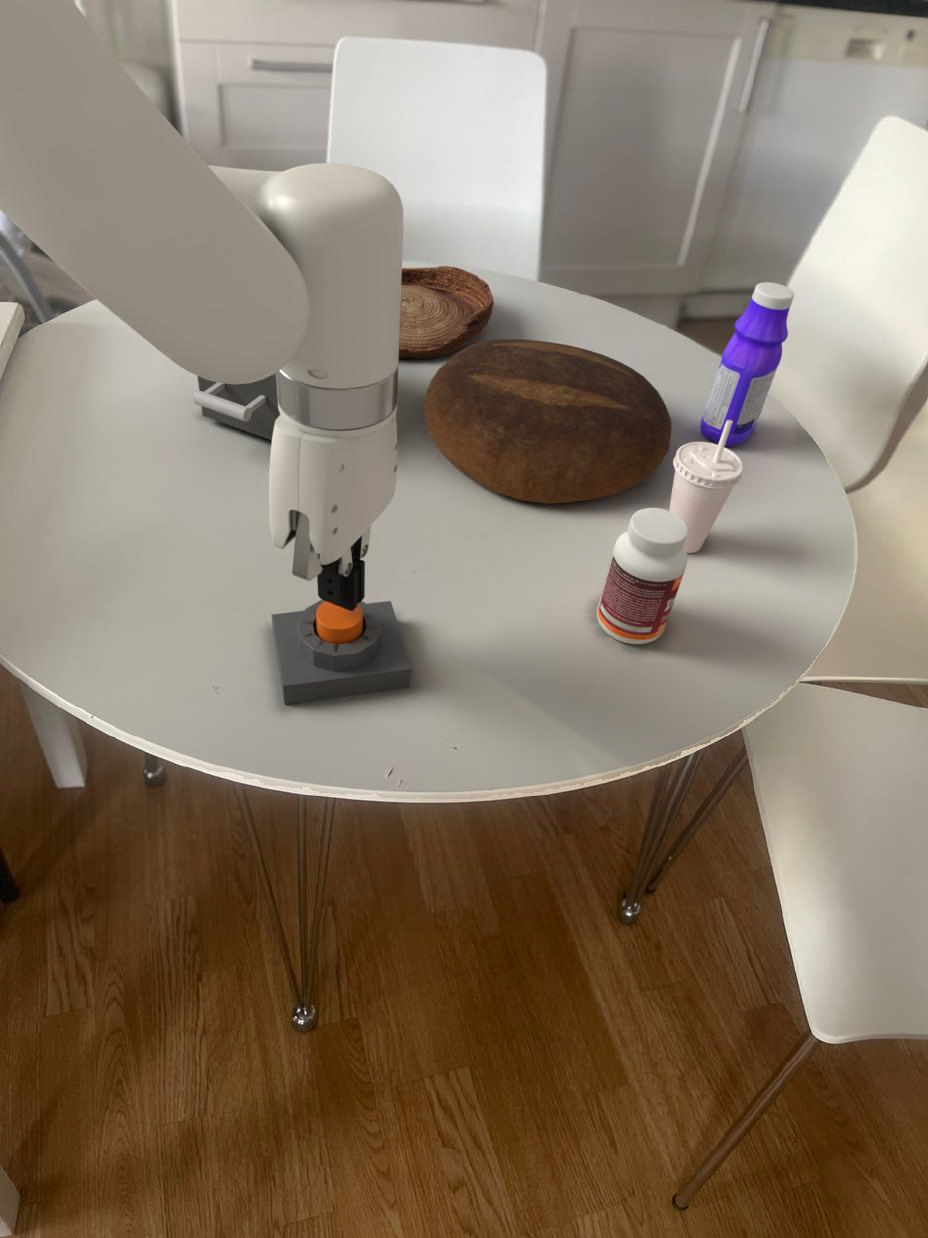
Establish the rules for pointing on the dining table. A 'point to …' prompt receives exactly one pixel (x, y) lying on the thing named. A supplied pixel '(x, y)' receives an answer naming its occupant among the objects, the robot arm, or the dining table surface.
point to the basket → (441, 310)
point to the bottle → (748, 365)
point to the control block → (339, 656)
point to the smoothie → (703, 485)
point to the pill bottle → (643, 577)
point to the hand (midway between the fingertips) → (341, 598)
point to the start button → (338, 623)
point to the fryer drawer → (241, 404)
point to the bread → (546, 420)
